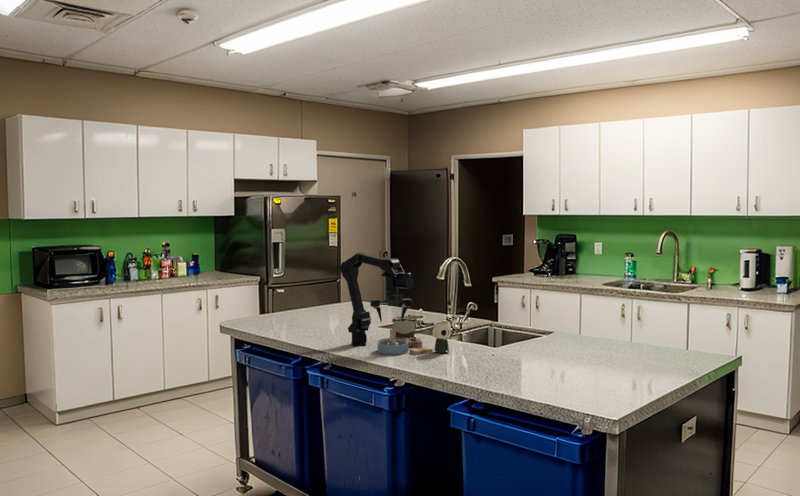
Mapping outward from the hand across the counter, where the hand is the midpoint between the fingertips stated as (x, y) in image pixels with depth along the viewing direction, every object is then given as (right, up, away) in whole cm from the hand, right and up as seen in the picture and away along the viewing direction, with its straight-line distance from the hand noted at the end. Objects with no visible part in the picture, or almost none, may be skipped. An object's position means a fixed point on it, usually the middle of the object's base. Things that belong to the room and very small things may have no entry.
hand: (391, 321), depth 271 cm
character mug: (+22, -13, -5) cm, 26 cm away
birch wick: (+1, -12, -3) cm, 12 cm away
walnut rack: (+10, -12, +10) cm, 19 cm away
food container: (+6, -11, +29) cm, 32 cm away
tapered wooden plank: (+13, -13, -5) cm, 19 cm away
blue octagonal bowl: (+1, -13, -3) cm, 13 cm away
